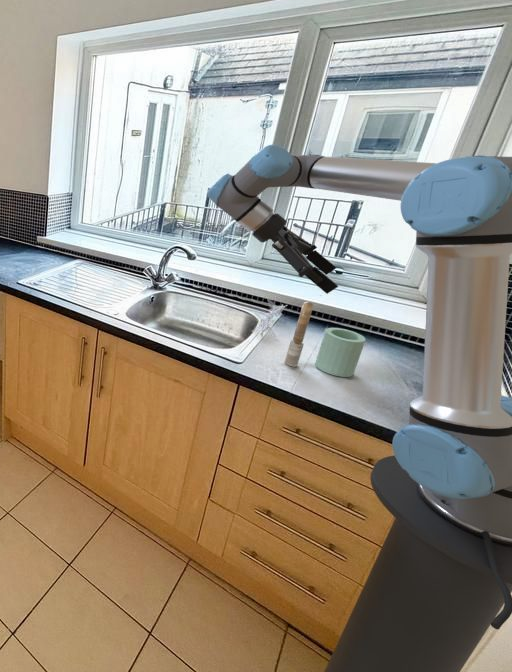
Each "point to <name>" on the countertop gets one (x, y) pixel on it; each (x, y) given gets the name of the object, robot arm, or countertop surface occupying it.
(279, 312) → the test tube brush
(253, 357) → the countertop surface
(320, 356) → the mint green pipe segment
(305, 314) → the brush
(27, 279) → the countertop surface
